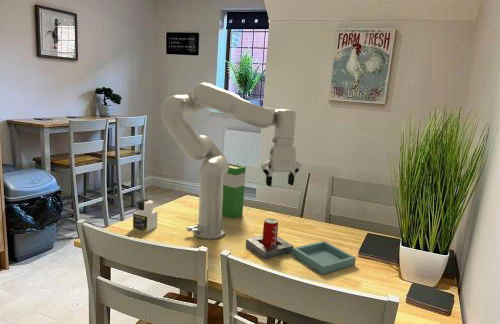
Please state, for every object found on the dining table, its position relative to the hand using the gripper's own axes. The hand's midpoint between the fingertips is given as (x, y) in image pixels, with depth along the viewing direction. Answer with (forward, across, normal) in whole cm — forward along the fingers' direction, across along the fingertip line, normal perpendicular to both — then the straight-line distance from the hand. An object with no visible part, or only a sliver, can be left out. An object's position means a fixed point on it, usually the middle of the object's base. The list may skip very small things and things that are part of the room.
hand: (279, 185), depth 141 cm
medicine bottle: (+24, -47, +28) cm, 60 cm away
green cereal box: (+24, -8, +39) cm, 46 cm away
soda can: (+24, -5, -6) cm, 25 cm away
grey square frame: (+24, -5, -6) cm, 25 cm away
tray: (+24, +10, -19) cm, 32 cm away
